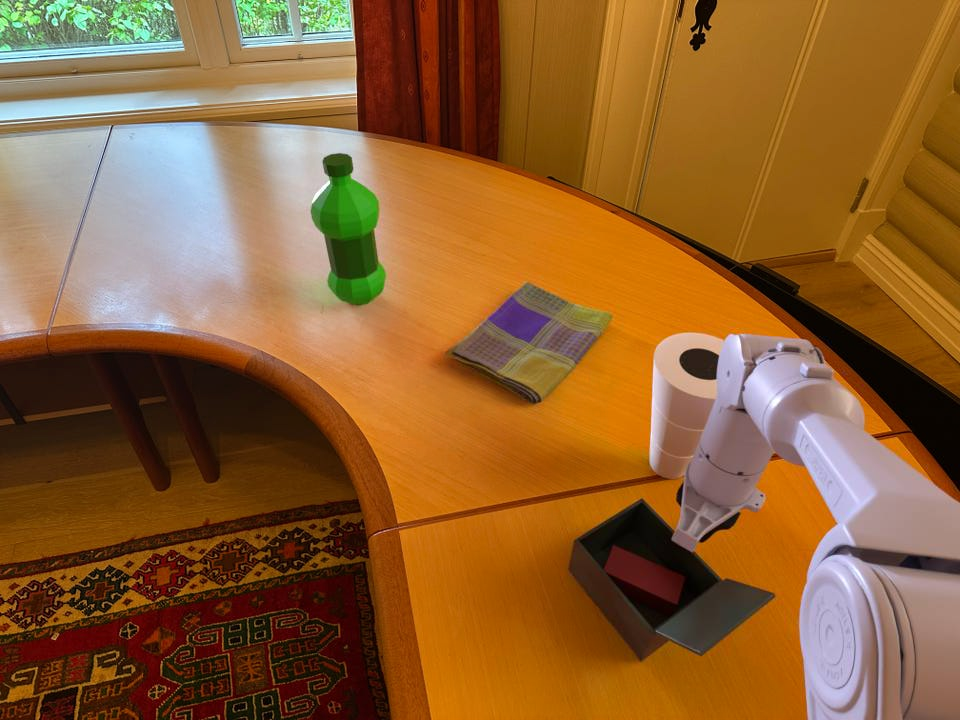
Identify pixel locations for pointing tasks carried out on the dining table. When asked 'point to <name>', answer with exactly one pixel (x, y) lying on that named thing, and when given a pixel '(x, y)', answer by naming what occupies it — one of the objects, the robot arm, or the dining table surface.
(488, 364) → the dish towel
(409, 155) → the dining table surface
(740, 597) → the carton flap
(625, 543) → the carton
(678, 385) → the white paper towel roll
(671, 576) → the red rectangular block
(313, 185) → the dining table surface
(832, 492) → the robot arm
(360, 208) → the plastic bottle
